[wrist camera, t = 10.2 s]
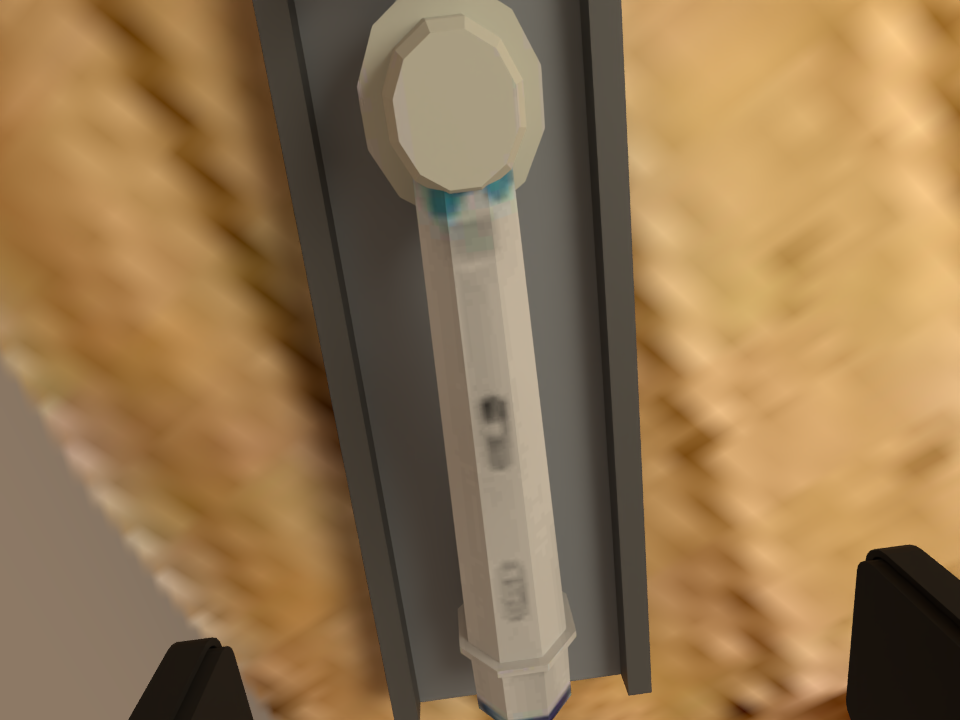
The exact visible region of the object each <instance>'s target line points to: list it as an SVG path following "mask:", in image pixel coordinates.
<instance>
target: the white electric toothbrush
mask: <svg viewBox="0 0 960 720" xmlns="http://www.w3.org/2000/svg"><path fill="white" fill-rule="evenodd" d="M357 92H358V97H359V103H360V109H361V114H362V120H363V126H364V131H365V137H366V143H367V148H368V151H369V152H370V154H371V155H372V157H373V158H374V160H375V161H376V163H377V164H378V166H379V167H380V169H381V170H382V172H383V173H384V175H385V176H386V178H387V179H388V181H389V182H390V183H391V185H392V186H393V188H394V189H395V191H396V192H397V194H398V195H399V197H400V198H402V199H404V200H406V201H408V202H410V203H412V204H414V205H416V211H417V219H418V228H419V236H420V244H421V253H422V261H423V269H424V278H425V286H426V294H427V302H428V311H429V319H430V327H431V336H432V344H433V352H434V361H435V369H436V377H437V386H438V394H439V402H440V411H441V419H442V427H443V436H444V444H445V452H446V460H447V469H448V477H449V485H450V494H451V502H452V510H453V519H454V527H455V535H456V544H457V552H458V560H459V569H460V577H461V585H462V594H463V602H464V603H463V604H462V605H461V606H460V607H459V608H458V625H459V644H460V652H461V653H462V654H463V655H465V656H466V657H468V658H469V659H471V661H472V668H473V674H474V680H475V686H476V692H477V698H478V704H479V708H480V709H481V710H482V711H484V712H485V713H487V714H488V715H489V716H491V717H492V718H493V719H495V720H553V718H554V717H555V716H556V714H557V713H558V712H559V710H560V709H561V708H562V706H563V705H564V704H565V702H566V701H567V700H568V698H569V697H570V696H571V686H570V672H569V658H568V646H569V645H570V644H571V643H572V641H573V640H574V639H575V638H576V628H575V624H574V621H573V617H572V613H571V609H570V606H569V602H568V598H567V594H566V593H564V592H562V586H561V578H560V569H559V560H558V552H557V543H556V535H555V526H554V518H553V509H552V500H551V492H550V483H549V475H548V466H547V457H546V449H545V440H544V432H543V423H542V415H541V406H540V397H539V389H538V380H537V372H536V363H535V354H534V346H533V337H532V329H531V320H530V312H529V303H528V294H527V286H526V277H525V269H524V260H523V251H522V243H521V234H520V226H519V217H518V209H517V200H516V191H515V190H516V189H517V188H519V187H520V186H521V185H522V184H523V183H524V182H525V181H526V178H527V175H528V173H529V170H530V167H531V165H532V162H533V159H534V156H535V154H536V151H537V148H538V145H539V143H540V140H541V137H542V135H543V132H544V129H545V121H544V104H543V88H542V72H541V64H540V62H539V60H538V58H537V56H536V54H535V52H534V50H533V49H532V47H531V45H530V43H529V41H528V39H527V37H526V35H525V33H524V31H523V29H522V27H521V26H520V24H519V22H518V20H517V18H516V16H515V14H514V12H513V10H512V9H511V8H509V7H508V6H506V5H505V4H503V3H501V2H500V1H498V0H397V1H396V2H395V3H394V4H393V5H392V6H391V7H390V8H389V9H388V10H387V11H386V12H385V13H384V14H383V15H382V16H381V17H380V18H379V19H378V20H377V21H376V22H375V23H374V24H373V25H372V29H371V32H370V36H369V40H368V44H367V48H366V52H365V56H364V60H363V64H362V68H361V72H360V76H359V80H358V84H357Z"/></svg>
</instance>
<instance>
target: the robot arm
mask: <svg viewBox="0 0 960 720" xmlns="http://www.w3.org/2000/svg"><path fill="white" fill-rule="evenodd" d="M846 705H847V710H848V713H849V716H850V718H851V720H960V580H959V579H958V578H956V577H955V576H954V575H953V574H952V573H950V572H949V571H948V570H947V569H945V568H944V567H943V566H942V565H940V564H939V563H938V562H937V561H935V560H934V559H933V558H932V557H930V556H929V555H928V554H927V553H926V552H924V551H923V550H922V549H920V548H918V547H917V546H914V545H903V546H895V547H888V548H880V549H874V550H871V551H870V552H869V553H868V554H867V556H866V561H863V562H860V564H859V565H858V568H857V577H856V588H855V600H854V612H853V624H852V636H851V648H850V660H849V671H848V683H847V695H846ZM129 720H253V717H252V713H251V710H250V707H249V703H248V700H247V696H246V693H245V689H244V686H243V683H242V679H241V676H240V672H239V669H238V666H237V662H236V659H235V655H234V652H233V650H232V648H231V647H229V646H225V647H222V646H221V643H220V641H219V640H218V639H217V638H205V639H198V640H190V641H183V642H176V643H175V644H173V645H171V647H170V648H169V649H168V651H167V653H166V654H165V656H164V658H163V660H162V661H161V663H160V665H159V667H158V669H157V670H156V672H155V674H154V675H153V677H152V679H151V681H150V683H149V684H148V686H147V688H146V690H145V691H144V693H143V695H142V697H141V699H140V700H139V702H138V704H137V705H136V707H135V709H134V711H133V712H132V714H131V716H130V718H129Z"/></svg>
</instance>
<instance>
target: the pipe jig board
mask: <svg viewBox="0 0 960 720" xmlns="http://www.w3.org/2000/svg"><path fill="white" fill-rule="evenodd" d="M252 1H253V6H254V11H255V16H256V21H257V26H258V31H259V36H260V41H261V46H262V51H263V56H264V62H265V67H266V72H267V77H268V82H269V87H270V92H271V97H272V102H273V107H274V112H275V117H276V122H277V127H278V132H279V138H280V143H281V148H282V153H283V158H284V163H285V168H286V173H287V178H288V183H289V188H290V193H291V198H292V203H293V209H294V214H295V219H296V224H297V229H298V234H299V239H300V244H301V249H302V254H303V259H304V264H305V269H306V274H307V279H308V285H309V290H310V295H311V300H312V305H313V310H314V315H315V320H316V325H317V330H318V335H319V340H320V345H321V350H322V355H323V361H324V366H325V371H326V376H327V381H328V386H329V391H330V396H331V401H332V406H333V411H334V416H335V421H336V426H337V431H338V437H339V442H340V447H341V452H342V457H343V462H344V467H345V472H346V477H347V482H348V487H349V492H350V497H351V502H352V507H353V513H354V518H355V523H356V528H357V533H358V538H359V543H360V548H361V553H362V558H363V563H364V568H365V573H366V578H367V584H368V589H369V594H370V599H371V604H372V609H373V614H374V619H375V624H376V629H377V634H378V639H379V644H380V649H381V654H382V660H383V665H384V670H385V675H386V680H387V685H388V690H389V695H390V700H391V705H392V710H393V715H394V720H420V702H426V701H433V700H440V699H447V698H454V697H461V696H468V695H475V694H477V692H476V686H475V680H474V674H473V668H472V661H471V659H469V658H468V657H466V656H465V655H463V654H462V653H461V652H460V644H459V625H458V608H459V607H460V606H461V605H462V604H463V603H464V602H463V594H462V585H461V577H460V569H459V560H458V552H457V544H456V535H455V527H454V519H453V510H452V502H451V494H450V485H449V477H448V469H447V460H446V452H445V444H444V436H443V427H442V419H441V411H440V402H439V394H438V386H437V377H436V369H435V361H434V352H433V344H432V336H431V327H430V319H429V311H428V302H427V294H426V286H425V278H424V269H423V261H422V253H421V244H420V236H419V228H418V219H417V211H416V205H414V204H412V203H410V202H408V201H406V200H404V199H402V198H400V197H399V195H398V194H397V192H396V191H395V189H394V188H393V186H392V185H391V183H390V182H389V181H388V179H387V178H386V176H385V175H384V173H383V172H382V170H381V169H380V167H379V166H378V164H377V163H376V161H375V160H374V158H373V157H372V155H371V154H370V152H369V151H368V148H367V143H366V137H365V131H364V126H363V120H362V114H361V109H360V103H359V97H358V92H357V84H358V80H359V76H360V72H361V68H362V64H363V60H364V56H365V52H366V48H367V44H368V40H369V36H370V32H371V29H372V25H373V24H374V23H375V22H376V21H377V20H378V19H379V18H380V17H381V16H382V15H383V14H384V13H385V12H386V11H387V10H388V9H389V8H390V7H391V6H392V5H393V4H394V3H395V2H396V1H397V0H252ZM498 1H500V2H501V3H503V4H505V5H506V6H508V7H509V8H511V9H512V10H513V12H514V14H515V16H516V18H517V20H518V22H519V24H520V26H521V27H522V29H523V31H524V33H525V35H526V37H527V39H528V41H529V43H530V45H531V47H532V49H533V50H534V52H535V54H536V56H537V58H538V60H539V62H540V64H541V72H542V88H543V104H544V121H545V129H544V132H543V135H542V137H541V140H540V143H539V145H538V148H537V151H536V154H535V156H534V159H533V162H532V165H531V167H530V170H529V173H528V175H527V178H526V181H525V182H524V183H523V184H522V185H521V186H520V187H519V188H517V189H516V190H515V191H516V200H517V209H518V217H519V226H520V234H521V243H522V251H523V260H524V269H525V277H526V286H527V294H528V303H529V312H530V320H531V329H532V337H533V346H534V354H535V363H536V372H537V380H538V389H539V397H540V406H541V415H542V423H543V432H544V440H545V449H546V457H547V466H548V475H549V483H550V492H551V500H552V509H553V518H554V526H555V535H556V543H557V552H558V560H559V569H560V578H561V586H562V592H564V593H566V594H567V598H568V602H569V606H570V609H571V613H572V617H573V621H574V624H575V628H576V638H575V639H574V640H573V641H572V643H571V644H570V645H569V646H568V658H569V672H570V681H575V680H582V679H589V678H597V677H604V676H611V675H618V674H621V676H622V678H623V681H624V684H625V687H626V690H627V692H628V695H636V694H643V693H650V692H652V688H651V665H650V643H649V620H648V598H647V575H646V552H645V530H644V507H643V484H642V462H641V439H640V417H639V394H638V371H637V349H636V326H635V303H634V281H633V258H632V236H631V213H630V190H629V168H628V145H627V122H626V100H625V77H624V55H623V32H622V9H621V0H498Z"/></svg>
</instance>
